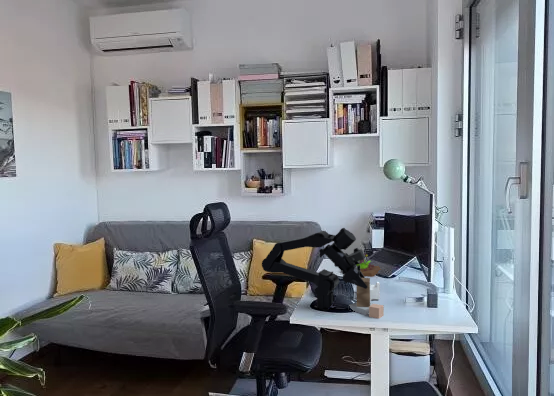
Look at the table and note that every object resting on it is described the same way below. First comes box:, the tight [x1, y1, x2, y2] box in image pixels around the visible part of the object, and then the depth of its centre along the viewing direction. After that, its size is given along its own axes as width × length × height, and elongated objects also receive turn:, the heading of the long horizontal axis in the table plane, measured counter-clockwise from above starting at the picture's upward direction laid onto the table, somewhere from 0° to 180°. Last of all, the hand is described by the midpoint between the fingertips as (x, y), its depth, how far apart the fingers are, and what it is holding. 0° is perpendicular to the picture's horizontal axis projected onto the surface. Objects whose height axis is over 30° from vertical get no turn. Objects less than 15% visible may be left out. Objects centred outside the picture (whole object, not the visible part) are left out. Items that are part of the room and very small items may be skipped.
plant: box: [356, 252, 381, 278], centre depth 244 cm, size 20×20×11 cm
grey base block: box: [348, 302, 374, 316], centre depth 183 cm, size 8×8×2 cm
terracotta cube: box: [368, 303, 385, 319], centre depth 175 cm, size 4×4×4 cm
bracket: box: [370, 281, 381, 302], centre depth 201 cm, size 13×7×8 cm, turn 178°
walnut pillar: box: [355, 277, 371, 307], centre depth 182 cm, size 5×5×10 cm
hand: (367, 285), depth 182 cm, fingers open, 6 cm apart
